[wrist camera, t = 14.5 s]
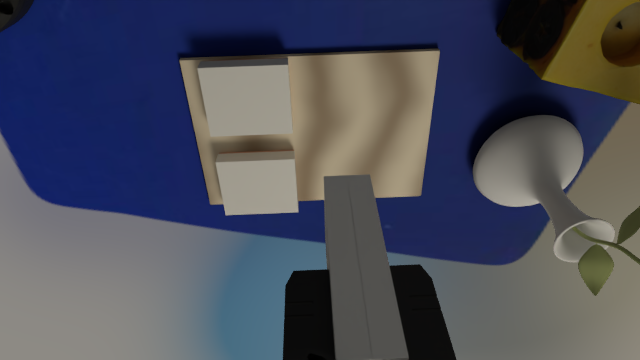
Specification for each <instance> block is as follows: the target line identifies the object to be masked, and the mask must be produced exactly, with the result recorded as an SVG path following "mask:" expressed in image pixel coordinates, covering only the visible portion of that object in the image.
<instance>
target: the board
mask: <svg viewBox="0 0 640 360" xmlns="http://www.w3.org/2000/svg"><path fill="white" fill-rule="evenodd" d="M439 54H440V50H439V49H412V50H386V51H359V52H332V53H305V54H279V55H252V56H225V57H198V58H181V59H180V65H181V70H182V75H183V79H184V84H185V89H186V93H187V98H188V102H189V107H190V112H191V116H192V121H193V126H194V130H195V135H196V140H197V144H198V149H199V153H200V158H201V163H202V167H203V172H204V177H205V181H206V186H207V190H208V195H209V200H210V204H223V199H222V193H221V188H220V183H219V178H218V173H217V168H216V159H217V155H218V154H219V153H221V152H246V151H271V150H294V151H295V162H296V177H297V191H298V201H308V200H324V176H342V175H367V174H370V177H371V182H372V186H373V191H374V196H375V198H381V197H405V196H421V190H422V182H423V175H424V167H425V160H426V152H427V145H428V137H429V129H430V122H431V114H432V107H433V99H434V92H435V84H436V76H437V69H438V61H439ZM263 58H288V61H289V75H290V90H291V104H292V118H293V134H268V135H242V136H217V137H211V136H210V131H209V126H208V121H207V116H206V111H205V105H204V100H203V95H202V90H201V85H200V80H199V74H198V69H197V68H198V66H199V64H200V61H210V60H236V59H263Z"/></svg>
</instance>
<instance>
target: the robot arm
mask: <svg viewBox="0 0 640 360" xmlns="http://www.w3.org/2000/svg"><path fill="white" fill-rule="evenodd" d="M33 1H34V0H0V32H2V31H3V30H5V29H7V28H8V27H10V26H12V25H13V24H15V23H16V22H18V21H19V20H20V19H21V18H22V17H23V16H24V15H25V14H26V13H27V12H28V10H29V9H30V7H31V5H32V4H33ZM324 207H325V241H326V257H327V270H305V271H293V273H292V275H291V277H290V279H289V280H288V282H287V284H286V289H285V319H284V344H283V360H456V357H455V353H454V350H453V347H452V343H451V340H450V337H449V334H448V331H447V327H446V324H445V321H444V317H443V314H442V311H441V307H440V304H439V301H438V298H437V294H436V291H435V288H434V284H433V281H432V278H431V277H430V276H429V275H428V273H427V272H426V271H425V270H424V269H423V268H422V266H421V265H397V266H389V262H388V257H387V253H386V248H385V243H384V238H383V234H382V229H381V224H380V219H379V215H378V210H377V205H376V201H375V196H374V191H373V186H372V182H371V177H370V174H367V175H342V176H324Z"/></svg>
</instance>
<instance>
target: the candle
mask: <svg viewBox="0 0 640 360" xmlns="http://www.w3.org/2000/svg"><path fill="white" fill-rule="evenodd" d="M497 36H498V37H499V38H500V39H501V42H502V43H503V44H504V45H505V46H506V47H508V49H510V50H511V51H512V52H514V53H515V54H516V55H517V56H518V57H520V58H521V59H522V61H523V62H525V63H528V64H529V67H530V68H531V69H532V70H534V72H535V73H536V74H537V75H538V76H539V77H540V78H541V79H542V80H546V81H549V82H553V83H557V84H561V85H565V86H569V87H575V88H581V89H585V90H590V91H594V92H598V93H601V94H605V95H608V96H611V97H614V98H618V99H622V100H626V101H630V102H633V103H637V104H640V0H511V2H510V4H509V7H508V9H507V12H506V14H505V16H504V18H503V20H502V21H501V23H500V24H499V25H498V30H497Z"/></svg>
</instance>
